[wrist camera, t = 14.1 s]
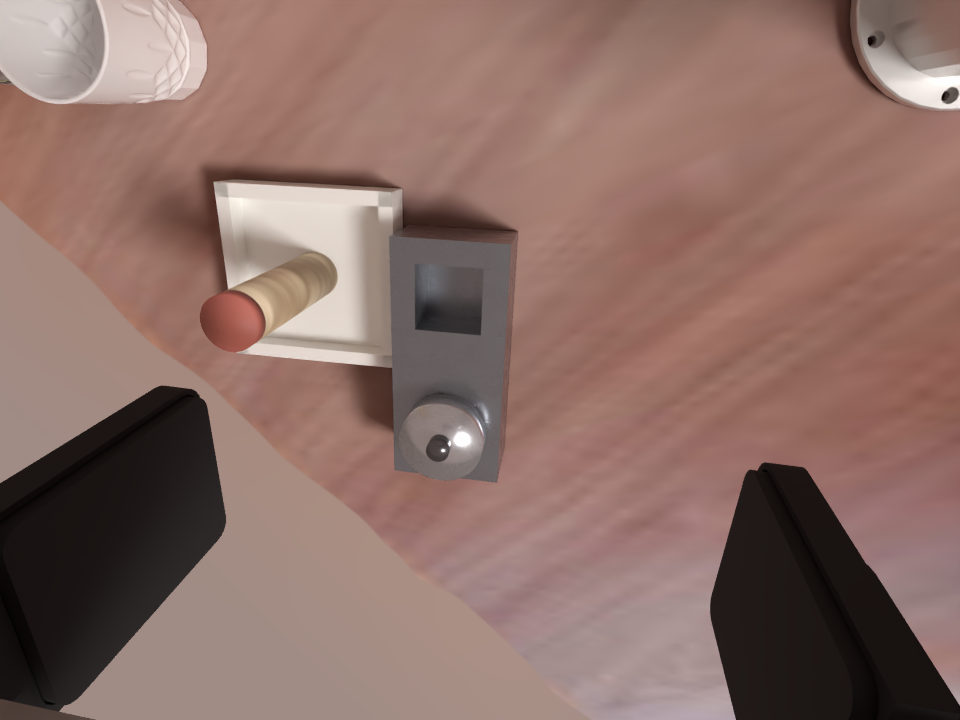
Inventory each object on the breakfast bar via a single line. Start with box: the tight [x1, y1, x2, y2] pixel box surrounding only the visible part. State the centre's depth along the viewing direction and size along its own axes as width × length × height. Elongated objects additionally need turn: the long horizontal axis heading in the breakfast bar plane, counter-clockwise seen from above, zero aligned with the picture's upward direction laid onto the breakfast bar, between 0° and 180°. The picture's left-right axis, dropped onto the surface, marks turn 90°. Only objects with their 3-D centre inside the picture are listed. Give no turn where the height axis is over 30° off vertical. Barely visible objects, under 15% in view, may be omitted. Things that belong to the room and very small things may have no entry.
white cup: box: [0, 0, 207, 104], centre depth 34 cm, size 8×8×10 cm
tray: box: [214, 179, 403, 368], centre depth 42 cm, size 13×13×2 cm
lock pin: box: [200, 252, 338, 352], centre depth 37 cm, size 3×3×12 cm
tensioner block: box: [389, 224, 518, 483], centre depth 40 cm, size 18×8×8 cm, turn 178°
